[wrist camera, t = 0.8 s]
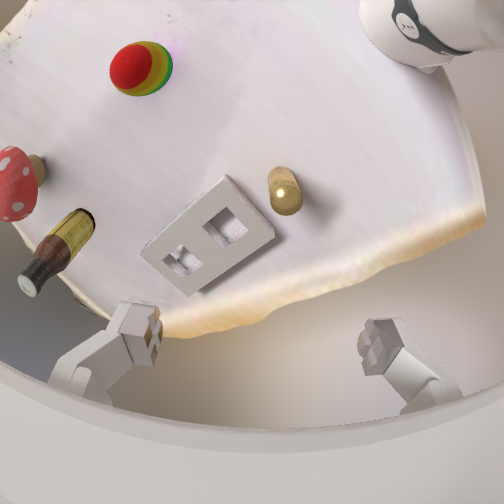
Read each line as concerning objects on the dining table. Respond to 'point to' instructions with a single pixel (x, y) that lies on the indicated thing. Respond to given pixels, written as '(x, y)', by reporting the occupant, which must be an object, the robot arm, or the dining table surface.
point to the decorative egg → (141, 68)
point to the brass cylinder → (284, 191)
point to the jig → (208, 237)
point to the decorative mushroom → (19, 183)
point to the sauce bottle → (57, 250)
